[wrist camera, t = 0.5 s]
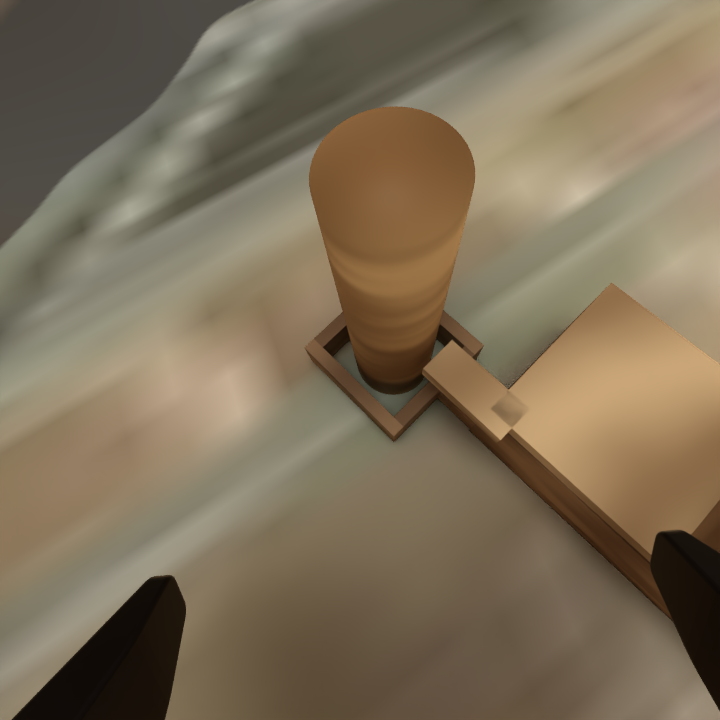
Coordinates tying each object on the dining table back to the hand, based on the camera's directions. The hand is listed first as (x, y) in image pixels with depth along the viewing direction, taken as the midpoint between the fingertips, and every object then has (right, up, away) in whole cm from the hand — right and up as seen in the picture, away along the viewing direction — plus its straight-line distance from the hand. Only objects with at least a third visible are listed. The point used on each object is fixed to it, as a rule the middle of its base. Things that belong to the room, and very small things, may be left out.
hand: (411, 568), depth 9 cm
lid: (+10, 0, +8) cm, 13 cm away
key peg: (+1, +4, +15) cm, 15 cm away
